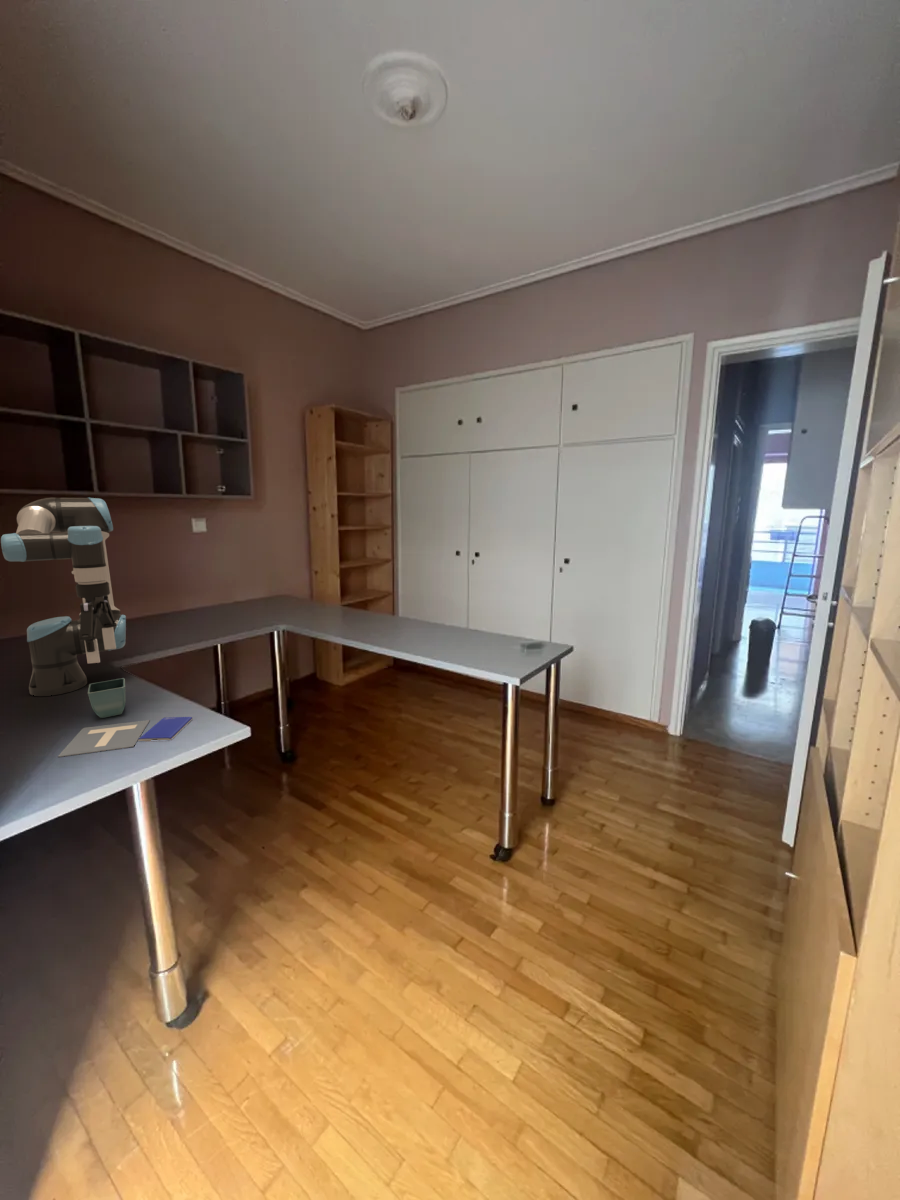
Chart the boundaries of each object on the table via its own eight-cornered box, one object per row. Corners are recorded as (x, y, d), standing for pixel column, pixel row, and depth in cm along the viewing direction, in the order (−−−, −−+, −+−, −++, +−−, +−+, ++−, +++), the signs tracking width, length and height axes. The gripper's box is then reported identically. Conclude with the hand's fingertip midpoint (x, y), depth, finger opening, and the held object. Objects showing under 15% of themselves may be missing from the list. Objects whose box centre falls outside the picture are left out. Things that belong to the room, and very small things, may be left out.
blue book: (162, 717, 138) (138, 738, 126) (192, 716, 139) (170, 737, 127) (163, 722, 138) (138, 743, 126) (192, 721, 139) (171, 742, 127)
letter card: (83, 728, 133) (82, 727, 133) (149, 720, 138) (149, 719, 138) (57, 757, 118) (57, 756, 118) (133, 747, 123) (133, 746, 123)
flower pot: (91, 723, 137) (87, 693, 135) (93, 712, 144) (89, 683, 142) (129, 715, 142) (125, 686, 140) (128, 705, 149) (124, 677, 147)
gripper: (92, 576, 146) (102, 645, 150) (56, 590, 122) (69, 670, 126) (121, 575, 148) (130, 642, 152) (91, 588, 125) (102, 667, 129)
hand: (102, 655), depth 139 cm, fingers open, 13 cm apart
